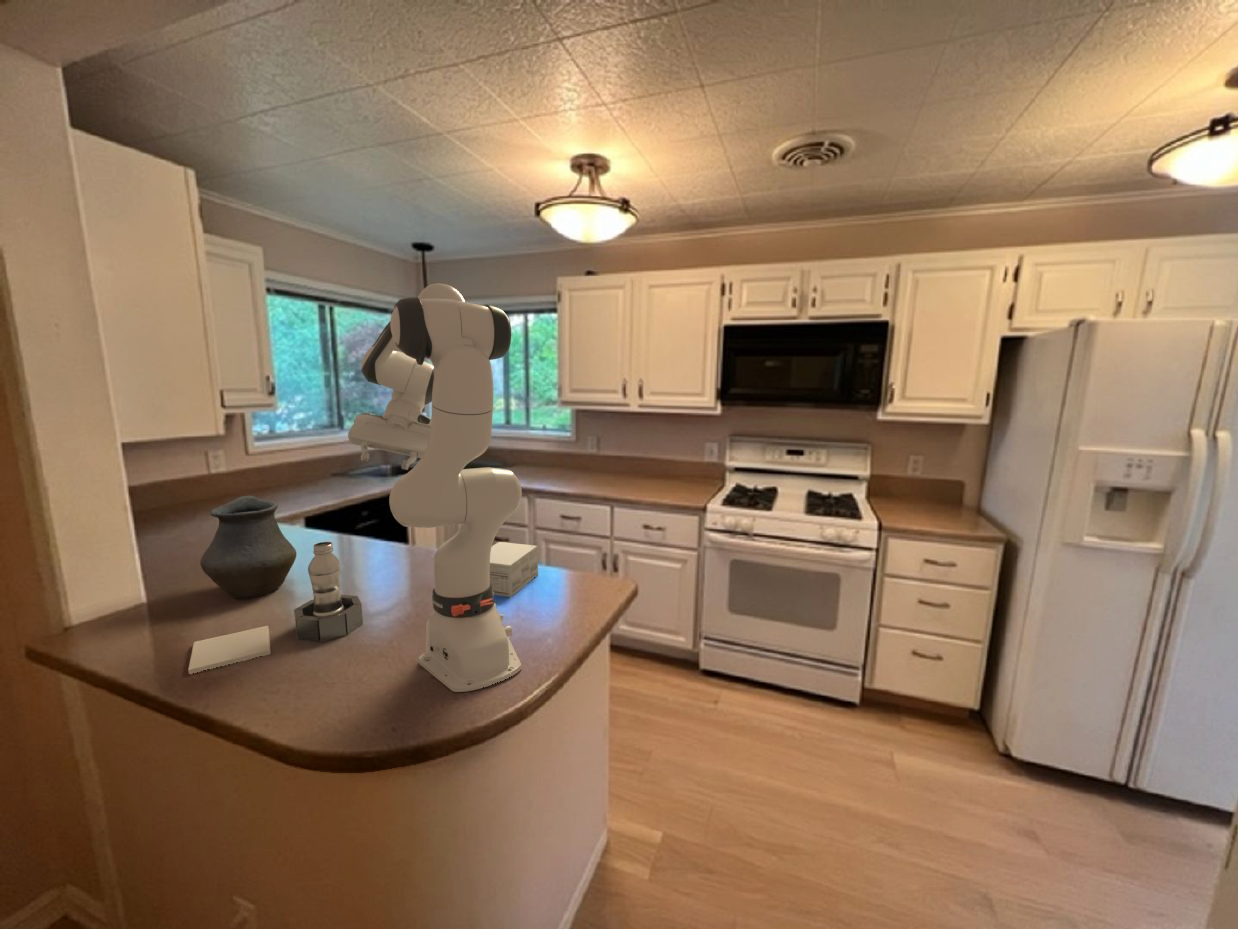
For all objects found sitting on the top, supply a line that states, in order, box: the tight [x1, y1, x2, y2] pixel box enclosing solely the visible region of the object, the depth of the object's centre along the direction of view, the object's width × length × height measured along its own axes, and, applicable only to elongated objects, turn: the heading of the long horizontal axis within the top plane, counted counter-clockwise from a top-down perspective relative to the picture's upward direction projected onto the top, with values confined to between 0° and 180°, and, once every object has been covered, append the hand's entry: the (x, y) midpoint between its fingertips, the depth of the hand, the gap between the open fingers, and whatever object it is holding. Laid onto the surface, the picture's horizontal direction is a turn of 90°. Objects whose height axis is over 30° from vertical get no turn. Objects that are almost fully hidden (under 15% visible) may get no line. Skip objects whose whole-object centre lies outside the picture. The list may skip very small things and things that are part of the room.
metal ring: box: [293, 594, 364, 643], centre depth 116 cm, size 13×13×5 cm
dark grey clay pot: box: [199, 495, 297, 600], centre depth 134 cm, size 21×22×25 cm
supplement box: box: [490, 541, 539, 598], centre depth 143 cm, size 17×13×9 cm
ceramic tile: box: [187, 625, 272, 675], centre depth 105 cm, size 13×13×1 cm
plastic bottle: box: [307, 541, 345, 617], centre depth 114 cm, size 6×7×20 cm
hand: (384, 464), depth 123 cm, fingers open, 8 cm apart
